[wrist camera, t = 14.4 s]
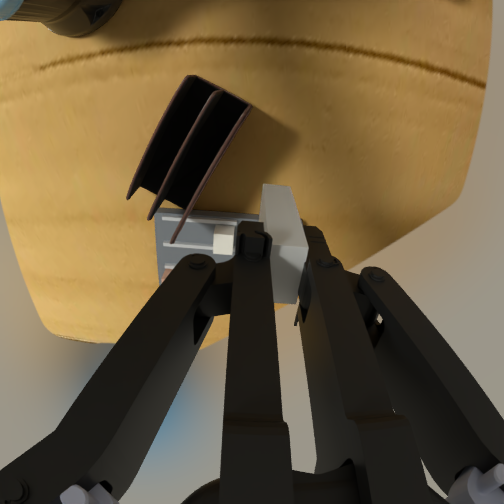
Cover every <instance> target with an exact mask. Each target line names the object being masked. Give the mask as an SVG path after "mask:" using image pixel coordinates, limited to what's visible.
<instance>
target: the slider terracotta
mask: <svg viewBox="0 0 504 504" xmlns="http://www.w3.org/2000/svg"><path fill="white" fill-rule="evenodd" d="M172 270H173V269H166V268H165V271H164V273H163V276H162V278H161V281H162V282H163V281H164V280H165V279H166V277H167V276H168V275H169V273H170V272H171V271H172Z"/></svg>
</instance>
